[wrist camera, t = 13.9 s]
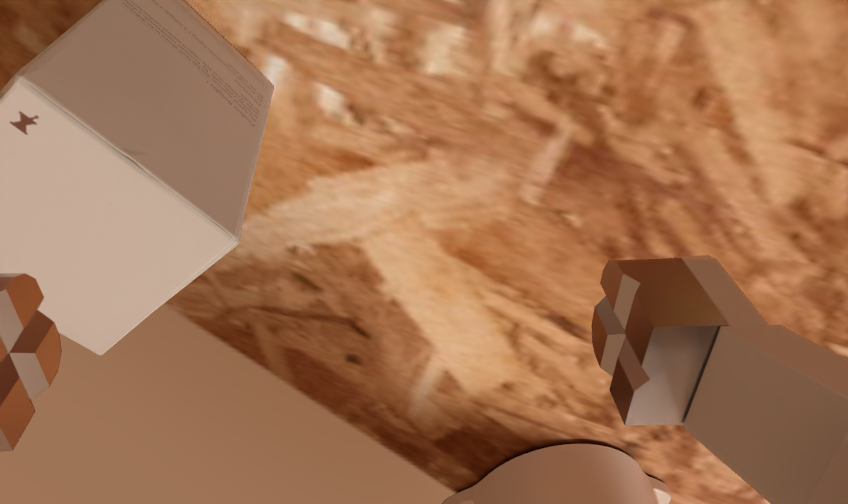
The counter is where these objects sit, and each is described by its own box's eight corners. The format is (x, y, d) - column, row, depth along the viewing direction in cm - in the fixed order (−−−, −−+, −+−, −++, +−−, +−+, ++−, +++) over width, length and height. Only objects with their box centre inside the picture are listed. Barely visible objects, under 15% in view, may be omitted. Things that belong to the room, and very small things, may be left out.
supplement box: (42, 75, 28) (-134, 234, 18) (147, -41, 26) (13, 65, 16) (179, 182, 32) (97, 364, 22) (281, 89, 29) (244, 244, 19)
